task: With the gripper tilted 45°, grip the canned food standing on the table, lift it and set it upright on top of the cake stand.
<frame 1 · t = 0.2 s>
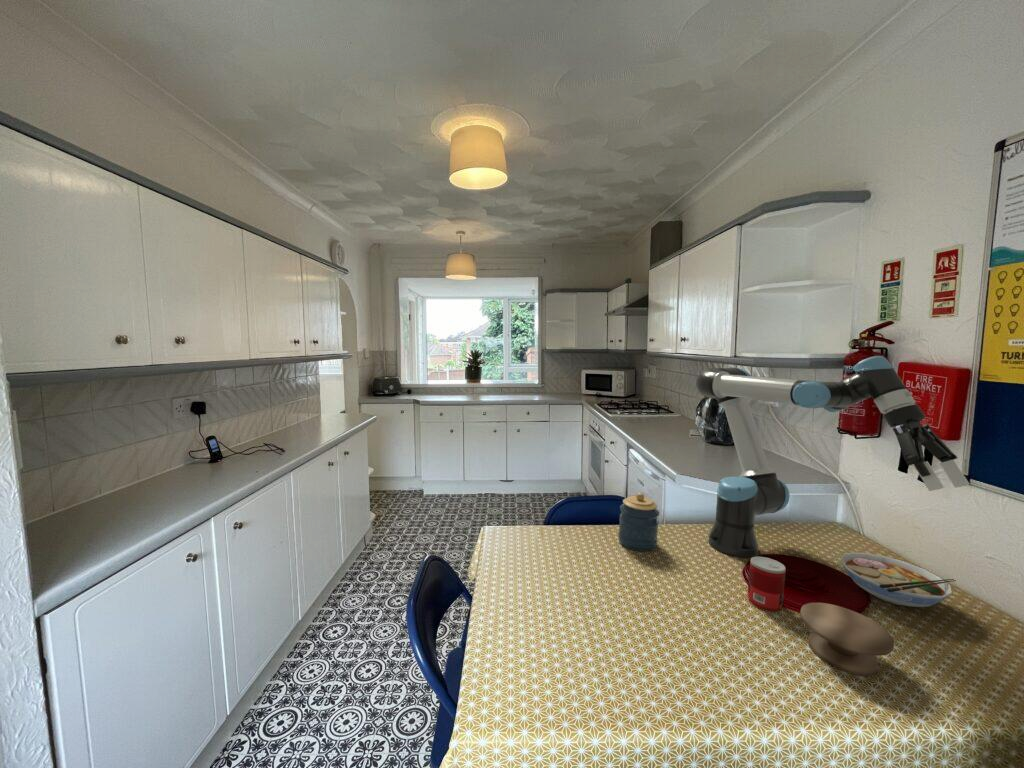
hand: (950, 488, 101), 35 cm above the table, tool tilted 35°, fingers open, 13 cm apart
cake stand: (841, 654, 92), on the table
canister: (637, 543, 142), on the table
ramen bowl: (889, 598, 115), on the table
canned food: (764, 603, 110), on the table
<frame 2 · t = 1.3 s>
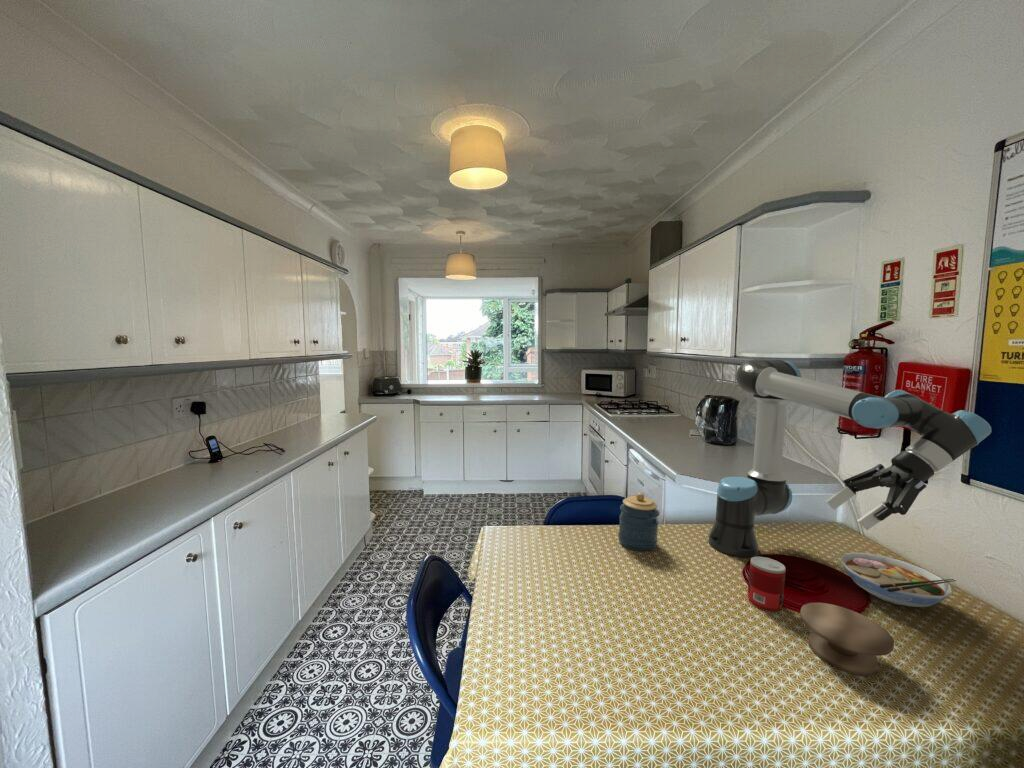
hand: (844, 514, 105), 26 cm above the table, tool tilted 45°, fingers open, 13 cm apart
nothing on the table moved.
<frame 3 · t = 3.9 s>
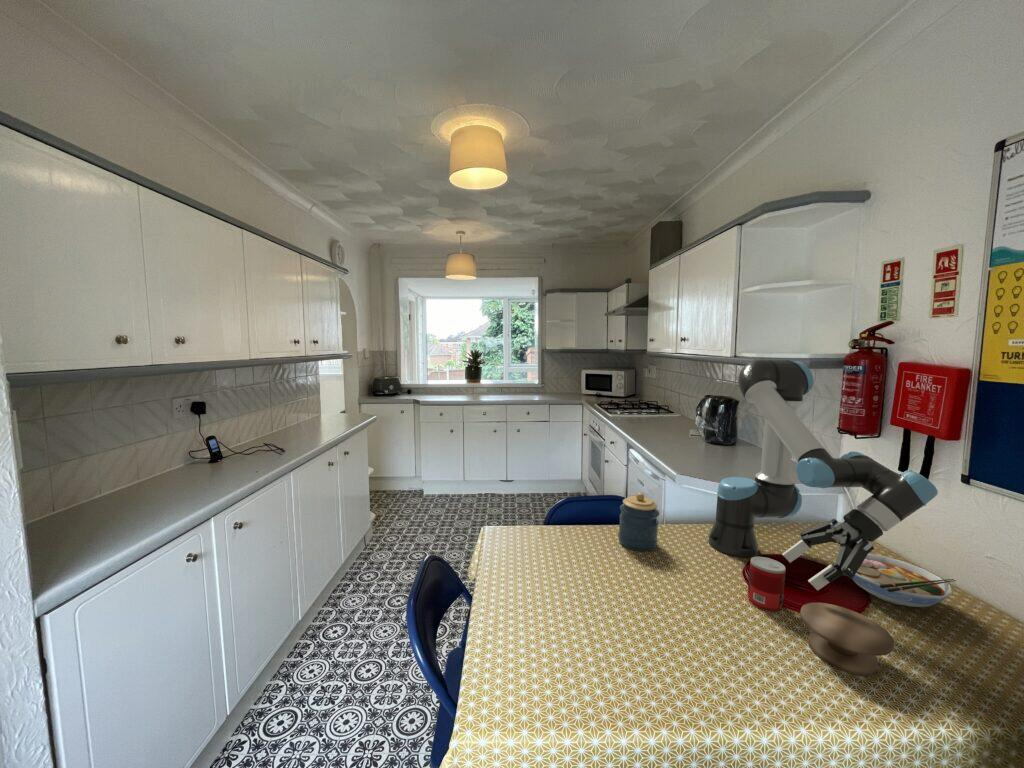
hand: (798, 571, 106), 11 cm above the table, tool tilted 45°, fingers open, 13 cm apart
nothing on the table moved.
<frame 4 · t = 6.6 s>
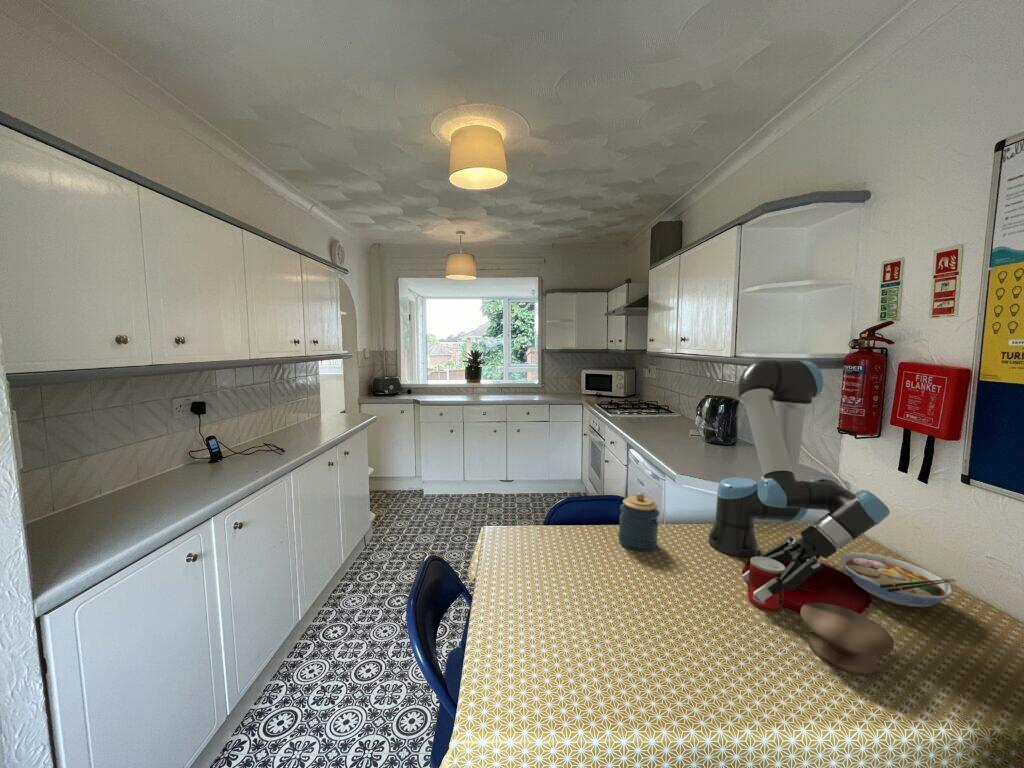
hand: (751, 588, 110), 4 cm above the table, tool tilted 45°, fingers closed on canned food, 8 cm apart
canned food: (764, 603, 110), on the table, touching gripper
everything else where it was.
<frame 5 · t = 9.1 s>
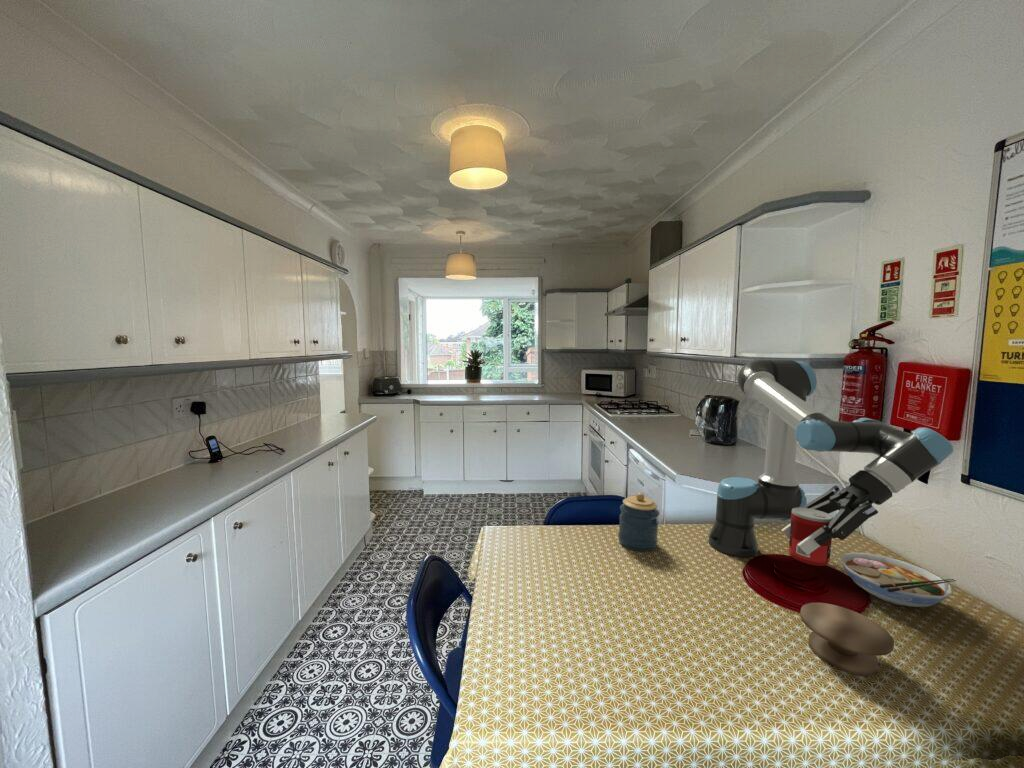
hand: (793, 541, 99), 22 cm above the table, tool tilted 45°, fingers closed on canned food, 8 cm apart
canned food: (808, 559, 98), point 18 cm above the table, touching gripper
everything else where it was.
when the fingers open (12 cm above the table, at t = 12.1 s): canned food drops 1 cm, resting on cake stand.
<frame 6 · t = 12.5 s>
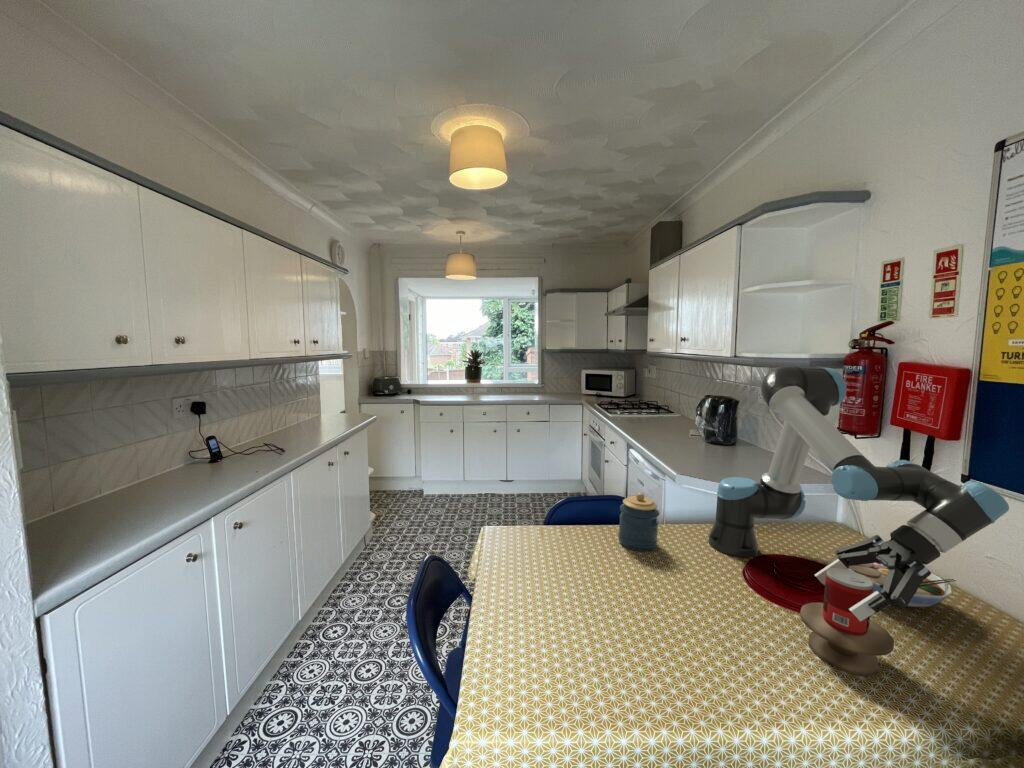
hand: (835, 596, 91), 13 cm above the table, tool tilted 45°, fingers open, 13 cm apart
canned food: (844, 625, 91), point 7 cm above the table, touching cake stand
everything else where it was.
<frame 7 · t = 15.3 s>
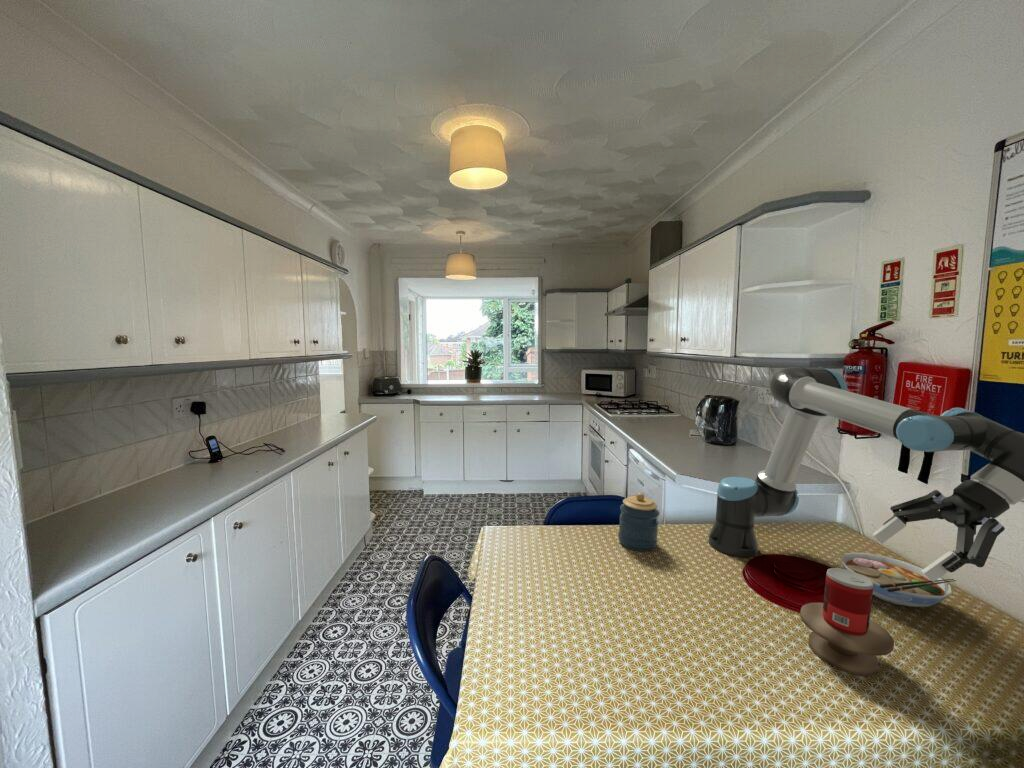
hand: (900, 556, 90), 23 cm above the table, tool tilted 40°, fingers open, 13 cm apart
nothing on the table moved.
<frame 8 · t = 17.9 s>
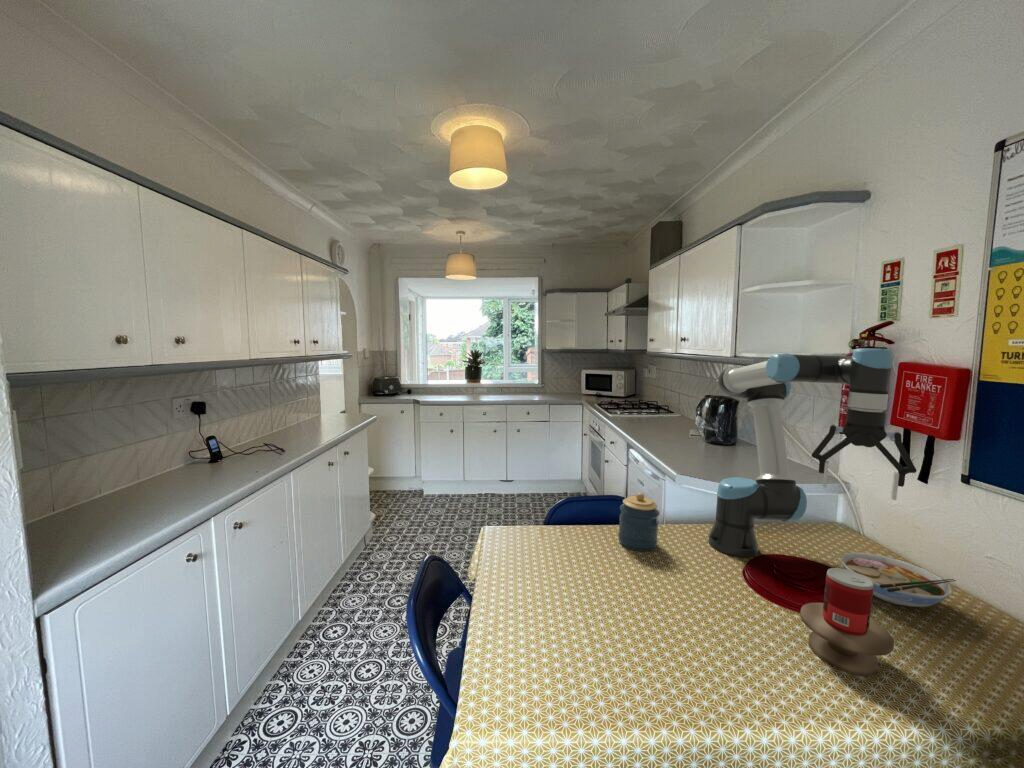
hand: (857, 491, 106), 32 cm above the table, tool pointing down, fingers open, 13 cm apart
nothing on the table moved.
at the end: canned food inside the target area on the cake stand (0.1 cm from its centre), point 6.8 cm above the cake stand's base; canned food tilted 0°; the gripper is holding nothing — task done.
